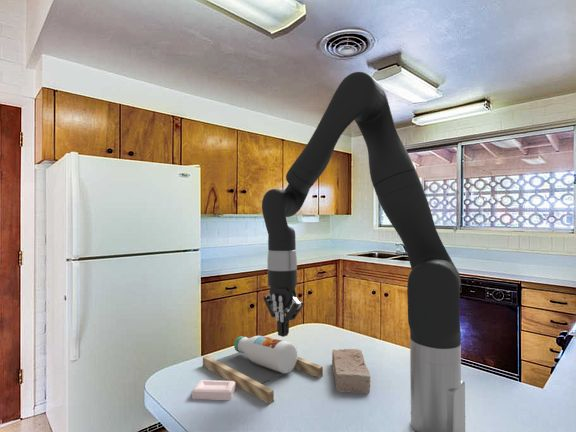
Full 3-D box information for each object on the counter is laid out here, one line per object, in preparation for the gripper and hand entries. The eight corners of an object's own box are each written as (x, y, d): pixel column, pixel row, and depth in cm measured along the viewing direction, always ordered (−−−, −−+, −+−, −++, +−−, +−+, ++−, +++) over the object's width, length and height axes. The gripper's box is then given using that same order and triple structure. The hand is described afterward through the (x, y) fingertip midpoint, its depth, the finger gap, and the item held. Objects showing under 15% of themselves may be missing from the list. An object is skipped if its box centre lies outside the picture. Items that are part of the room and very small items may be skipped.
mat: (295, 368, 94) (295, 367, 94) (252, 388, 84) (252, 386, 84) (250, 349, 109) (250, 348, 109) (208, 363, 98) (208, 362, 98)
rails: (322, 376, 90) (322, 366, 90) (268, 403, 77) (268, 392, 77) (255, 347, 110) (255, 340, 110) (202, 365, 97) (202, 357, 97)
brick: (371, 394, 81) (371, 374, 81) (336, 393, 82) (336, 373, 82) (361, 365, 98) (361, 348, 98) (331, 364, 98) (331, 347, 98)
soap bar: (230, 401, 78) (230, 391, 78) (191, 400, 79) (191, 389, 79) (235, 389, 84) (235, 379, 84) (199, 388, 85) (199, 378, 85)
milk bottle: (275, 359, 87) (225, 344, 100) (286, 380, 89) (236, 362, 103) (291, 336, 92) (242, 325, 105) (301, 357, 94) (252, 343, 108)
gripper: (311, 268, 85) (312, 338, 85) (275, 264, 95) (276, 326, 95) (290, 271, 80) (291, 346, 80) (254, 266, 90) (255, 333, 89)
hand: (283, 335), depth 87 cm, fingers closed
